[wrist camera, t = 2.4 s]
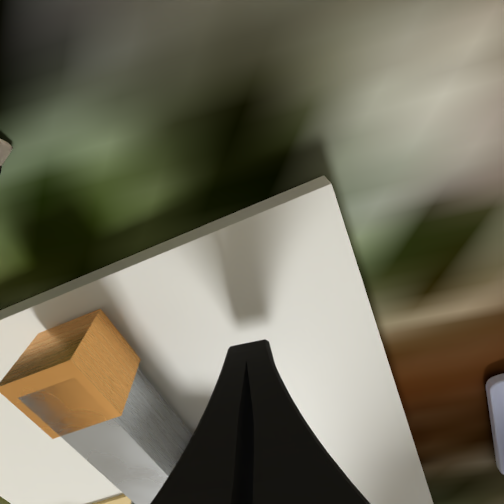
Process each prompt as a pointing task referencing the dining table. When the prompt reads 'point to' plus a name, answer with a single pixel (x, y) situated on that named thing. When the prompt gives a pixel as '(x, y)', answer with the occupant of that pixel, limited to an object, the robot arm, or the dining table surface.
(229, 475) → the robot arm
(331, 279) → the board
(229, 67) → the dining table surface
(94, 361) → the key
